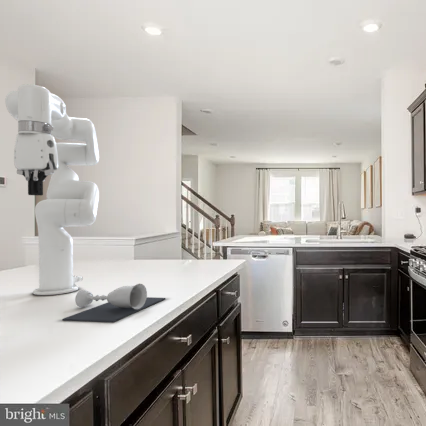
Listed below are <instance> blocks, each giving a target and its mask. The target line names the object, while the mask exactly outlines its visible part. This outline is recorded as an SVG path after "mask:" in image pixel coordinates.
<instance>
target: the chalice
mask: <svg viewBox="0 0 426 426" xmlns="http://www.w3.org/2000/svg"><path fill="white" fill-rule="evenodd" d="M147 297H148V291H147V288H146V286H145V285H144V284H143V283H136V284H135V285H123V286H120V287H118V288H116V289H114V290H112V291H110V292H109V293H108V294H107V295H105V294H102V295H100V294H96V295H93V293H92V292H91V291H89V290H86V289H80V290H78V292H77V293H76V295H75V298H74V301H75V302H74V303H75V305H76V306H77V307H78V308H85V307H87V306H89V305H91V304H92V303H93V301H95V302H99V301H103V302H104V301H105V300H106V301H107V303H108V302H109V303H111V304H112V305H114V306H116V307H119V308H134V309H140V308H141V307H142V306H143V305H144V304H145V301H146V298H147Z"/></svg>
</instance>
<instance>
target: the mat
mask: <svg viewBox="0 0 426 426" xmlns="http://www.w3.org/2000/svg"><path fill="white" fill-rule="evenodd" d="M165 300H166V297H148V296H147V298H146V301H145V304H144V305H143V306H142V307H141V308H140V309H134V308H119V307H116V306H114V305H112V304H111V303H109V302H108V301H107V302H105V303H102V304H99V305H98V306H94V307H91V308H89V309H86V310H83V311H80V312H77V313H75V314H72V315H69V316H67V317H64V318H62V321H65V322H67V321H69V322H93V323H95V322H97V323H115V322H118V321H120V320H122V319H125V318H126V317H129V316H131V315H133V314H136V313H137V312H140V311H142V310H144V309H146V308H149V307H151V306H154V305H155V304H158V303H161V302H162V301H165Z"/></svg>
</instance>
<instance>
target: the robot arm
mask: <svg viewBox="0 0 426 426" xmlns="http://www.w3.org/2000/svg"><path fill="white" fill-rule="evenodd" d="M4 104H5V107H6V110H7V112H8V113H9V115H10V116H11V117H12V118H13V119H15V120H16V121H17V134H16V137H15V141H14V142H15V143H14V149H13V150H14V151H13V164H14V168H15V169H16V174H17V175H21V176H23V177H24V178H25V181H26V182H27V195H28V196H43V195H44V182H45V181H46V178H47V177H48V176H51V177H50V180H49V182H48V186H47V189H46V199H42V200H40V201H38V202H37V203H36V204H35V206H34V216H35V221H36V226H37V235H38V287H37V288H34V289H33V290H32V294H33V295H35V296H52V295H63V294H67V293H72V292H76V291H79V285H78V284H76V283H77V282H81V281H83V279H84V278H83V276H82V275H77V276H76V275H74V239H73V237H72V235H71V234H70V233H69V232H68V231H67V230H66V229H65V228H68V227H69V228H70V227H71V228H73V227H74V228H75V227H89V226H92V225H93V224H94V223H95V222H96V219H97V215H98V214H97V213H98V208H99V207H98V206H99V200H100V190H99V186H98V185H97V183H95V182H94V181H92V180H83V179H82V180H80V179H79V178H80V177H79V175H78V173H77V172H75V171H74V169H73V168H71V167H70V166H83V167H85V166H87V167H88V166H89V167H92V166H95V165H97V164H98V163H99V162H100V161H99V160H100V151H99V143H98V137H97V132H96V131H97V130H96V128H95V125H94V123H93V121H92V120H91V119H88V118H83V117H71V116H69V115H68V113H67V106H66V103H65V102H64V100H63V99H62V98H61V97H60V96H58V95H56V94H54V93H52V92H51V91H50V89H48V88H46V87H44V86H41V85H37V84H32V83H30V84H29V83H25V84H21V85H19V86H18V87H17V90H12V91H9V92H8V93H7V94H6V96H5V99H4ZM56 139H57V140H61V141H71V142H56ZM72 141H74V142H72ZM77 142H79V143H77ZM80 142H85V143H80Z"/></svg>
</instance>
